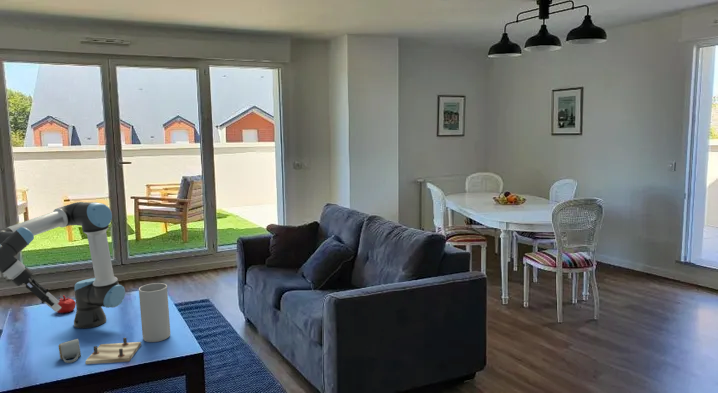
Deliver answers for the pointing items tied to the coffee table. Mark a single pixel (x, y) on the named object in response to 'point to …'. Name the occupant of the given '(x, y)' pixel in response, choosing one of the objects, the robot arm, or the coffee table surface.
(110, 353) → the post board
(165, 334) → the cylinder vase
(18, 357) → the coffee table surface
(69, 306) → the red pumpkin
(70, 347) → the ceramic mug
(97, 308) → the robot arm
